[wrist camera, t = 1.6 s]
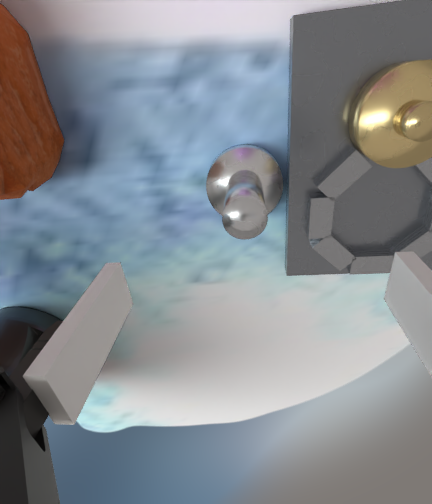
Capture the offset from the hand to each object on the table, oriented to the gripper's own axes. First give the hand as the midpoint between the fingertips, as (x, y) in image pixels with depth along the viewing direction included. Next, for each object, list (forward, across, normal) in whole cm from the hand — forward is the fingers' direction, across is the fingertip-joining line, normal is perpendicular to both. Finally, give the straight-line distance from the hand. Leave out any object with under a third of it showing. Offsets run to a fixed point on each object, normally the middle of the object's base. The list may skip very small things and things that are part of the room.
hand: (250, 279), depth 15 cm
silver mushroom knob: (+16, 0, 0) cm, 16 cm away
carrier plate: (+16, +12, +1) cm, 20 cm away
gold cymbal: (+14, +12, +5) cm, 19 cm away
